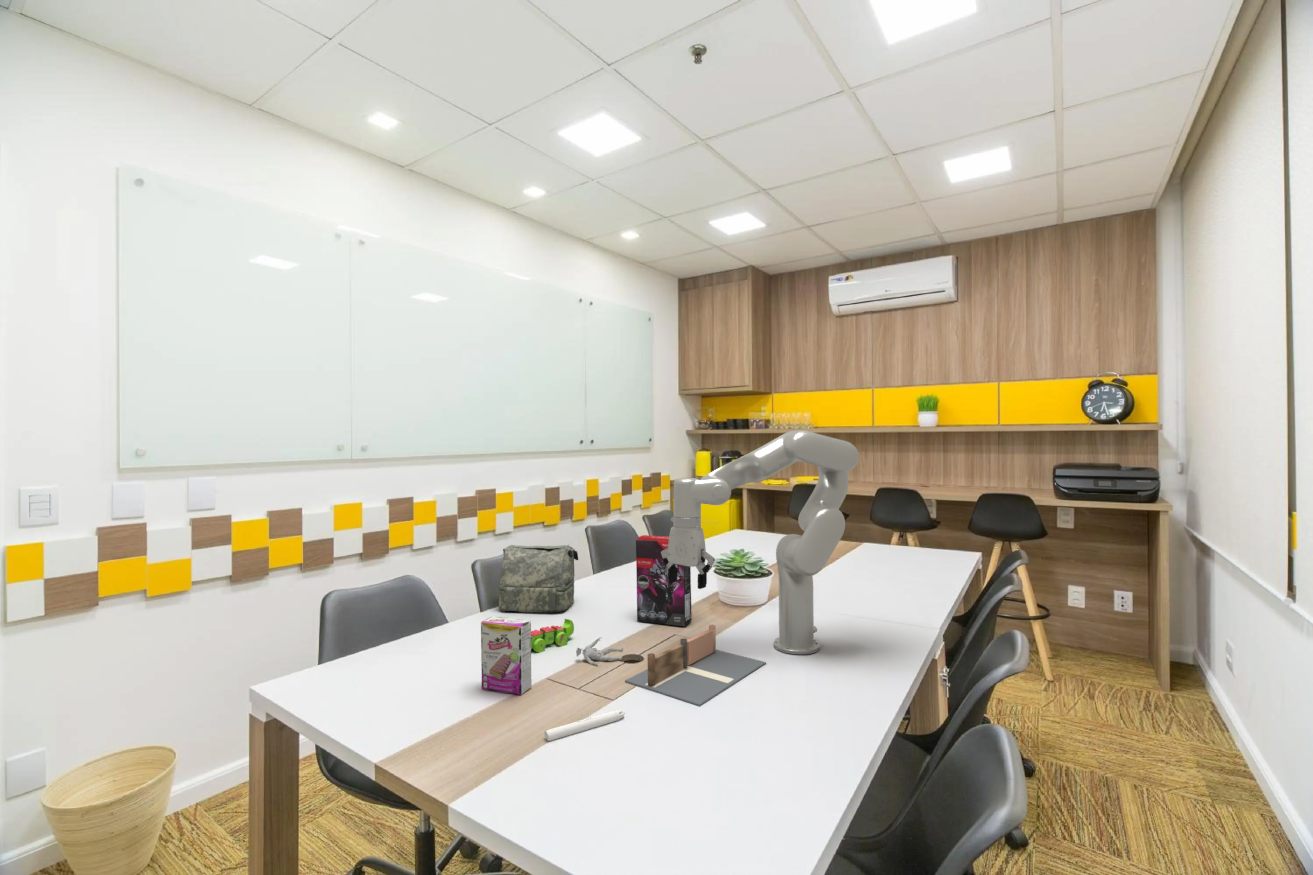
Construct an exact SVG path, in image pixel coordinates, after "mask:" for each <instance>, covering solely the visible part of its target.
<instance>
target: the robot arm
mask: <svg viewBox="0 0 1313 875" xmlns="http://www.w3.org/2000/svg"><path fill="white" fill-rule="evenodd" d="M859 460H860V455H859V450H858V449H857V447H856V446H855V445H854V444H853V443H852V442H849V441H847V440H844V439H843V440H842V439H839V438H835V437H831V436H827V435H824V434H820V433H817V432H812V431H809V430H803V429H802V430H801V429H800V430H790V431H787V432H785V433H783V434H781V435H779V436H778V437H776V438H774V439H772V440H771V441H769V442H767V443H765V444H764V445H761V446H760V447H758V448H756V449H755V450H753V451H751V452H749V453H747V454H744V455H742V456H740V457H738V458H737V459H734V460H733V461H730V462H728V463H726V464H723V465H721V466H720V467H718V468H716V469H714V470H712V471H711V472H709V473H706V475H704V476H702V477H701V478H700V479H699V478H696V477H678V478H676V479H675V480H674V481H673V516H671V518H670V521H671V522H672V523H673V526H672V527H671V528H670V531H669V536H668V537H669V542H668V548H667V549H665V550H663V551H661V555H662V557H663V561H664V563H665V564H666V567H667V569H668V578H669V583H674V582H677V567H675V566H676V565H684V566H690V568H694V567H695V568H696V569H697V572H698V574H697V589H699V590H702V589H704V588H707V583H708V580H707V578H708V577H707V576H708V575H707V574H708V573H709V572H710V570H711V569H712V568H713V565H714V564H715V561H716V558H715V557H714V556H712V555H711V554H710V553H708V552H707V551H706V538H705V534H704V529H703V528H702V517H701V516H702V504H703V505H710V506H720V505H724V504H725V503H727V502H728V501H729V500H730V498H731V495H732V490H735V489H737V488H738V487H742V486H743V485H746V484H747V485H748V484H750V483H757V482H760V481H761V482H762V481H763V480H766V479H769V478H770V477H773V476H774V475H775V474H777V473H779V472H781V471H782V470H784V469H786V468H788V467H790V466H791V465H793V464H795V463H797V462H801V463H806V464H809V465H812V466H813V465H814V466H816V467H817V469H818V480H817V482H816V485H815V487H814V489H813V491H812V493H811V494H810V496H809V497H808V499H807V501H806V503H805V504H804V506H802V509H801V511H800V512H799V515H798V519H797V520H798V526H799V527H800V529H801V530H802V531H803V534H802V535H800V534H796V533H790V534H789V533H788V534H786V535H785V536H783V537H782V538H781V539H780V540H779V541H778V542H777V545H776V550H775V558H776V559H775V560H776V566H777V574H778V637H777V638H775V639H774V640H773V647H774V649H776V650H778V651H779V652H782V653H786V654H790V655H811V654H814V653H817V652H818V651H819V650H820V648H821V647H820V643H819V642H818V641H817V640H816V639H814V638H815V636H814V635H815V633H817V632H818V628H817V626H815V625H814V578H813V576H815V575H817V574H819V572H821V571H822V570H823V568H824V567H825V566H826V564H827V563H828V562H829V560H830V558H831V556H832V555H833V553H834V551H835V549H836V548H837V546H838V544H839V542H840V541H841V539H842V537H843V535H844V532H845V528H846V521H845V516H844V514H843V513H842V511H841V510H840V508H841V506H842V504H843V503H844V501H845V499H846V496H847V493H848V490H849V484H850V482H849V474H848V472H850V471H852V470H853V469H855V468H856V467H857V465H858V463H859ZM706 561H707V563H706Z"/></svg>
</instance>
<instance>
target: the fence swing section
mask: <svg viewBox="0 0 1313 875" xmlns="http://www.w3.org/2000/svg"><path fill="white" fill-rule="evenodd" d="M716 628H717V627H716V625H715V624H709V626H708V629H707V630H706V631H703V632H701V633H699V634H697V635H695V636H693V637H691V638H689V639H687V665H690V664H692V663H694V662H696V661H698V660H700V659H702V658H704V657H705V656H707V655H709V654H711V653H713V652H716V650H717V646H716V645H717V638H716V634H717V633H716V631H717V630H716Z"/></svg>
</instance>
